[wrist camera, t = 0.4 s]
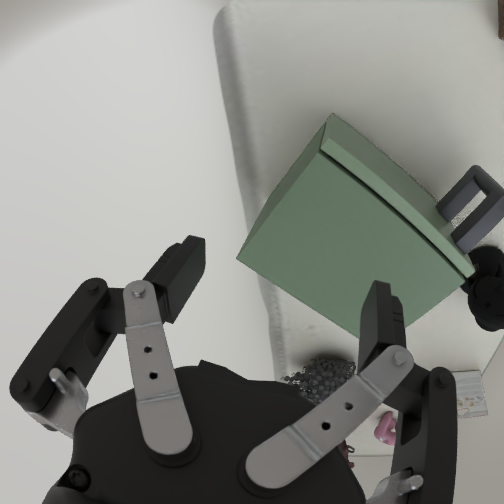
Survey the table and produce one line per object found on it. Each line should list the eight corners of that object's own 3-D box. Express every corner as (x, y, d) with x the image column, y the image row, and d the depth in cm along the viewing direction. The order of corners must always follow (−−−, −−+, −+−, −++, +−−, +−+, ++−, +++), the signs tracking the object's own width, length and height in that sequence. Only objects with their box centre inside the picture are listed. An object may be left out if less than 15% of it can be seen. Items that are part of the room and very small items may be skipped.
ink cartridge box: (475, 376, 42) (482, 421, 34) (424, 379, 45) (426, 427, 37) (480, 369, 40) (489, 415, 33) (427, 372, 44) (431, 421, 36)
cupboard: (325, 121, 28) (317, 152, 19) (435, 215, 30) (465, 281, 20) (267, 199, 35) (235, 259, 25) (372, 274, 36) (374, 349, 27)
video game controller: (378, 410, 56) (368, 439, 53) (390, 411, 52) (379, 442, 49) (410, 419, 56) (401, 446, 53) (422, 419, 52) (412, 449, 48)
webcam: (450, 291, 34) (466, 350, 26) (462, 243, 30) (488, 300, 22) (496, 291, 32) (518, 346, 24) (511, 245, 28) (543, 297, 20)
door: (369, 64, 23) (387, 62, 14) (479, 169, 25) (528, 220, 16) (326, 120, 28) (319, 148, 19) (437, 214, 29) (467, 278, 20)
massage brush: (406, 382, 46) (407, 427, 39) (287, 376, 53) (276, 420, 45) (420, 350, 41) (424, 400, 34) (284, 344, 48) (271, 393, 40)
